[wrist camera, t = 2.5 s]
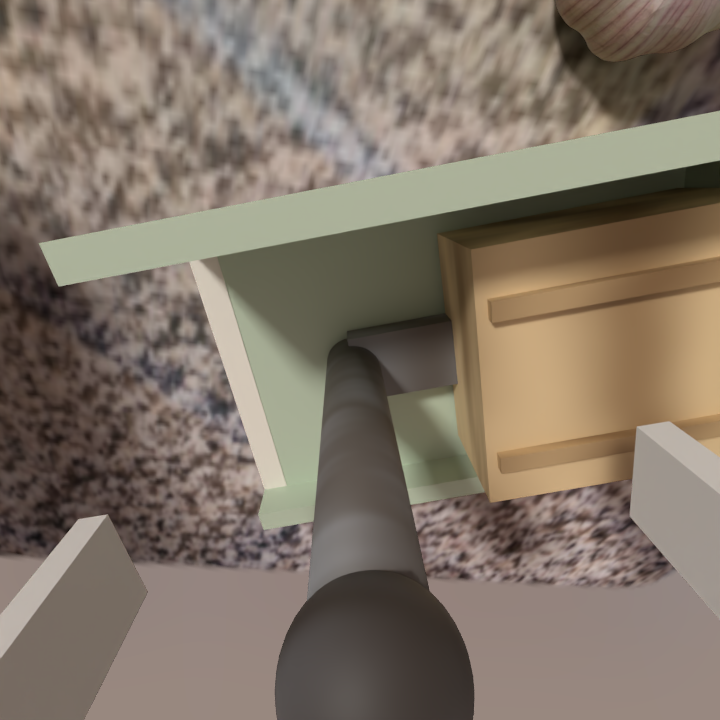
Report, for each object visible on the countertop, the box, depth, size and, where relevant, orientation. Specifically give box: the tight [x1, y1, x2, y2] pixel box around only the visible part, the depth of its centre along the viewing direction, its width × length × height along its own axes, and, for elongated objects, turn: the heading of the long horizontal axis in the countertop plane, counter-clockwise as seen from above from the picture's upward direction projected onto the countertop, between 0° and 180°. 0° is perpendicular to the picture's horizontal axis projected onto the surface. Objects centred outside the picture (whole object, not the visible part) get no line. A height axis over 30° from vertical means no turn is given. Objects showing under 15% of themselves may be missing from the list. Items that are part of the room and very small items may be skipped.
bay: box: [39, 111, 720, 530], centre depth 16 cm, size 22×15×9 cm
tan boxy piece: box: [275, 188, 720, 720], centre depth 12 cm, size 16×10×15 cm, turn 100°
